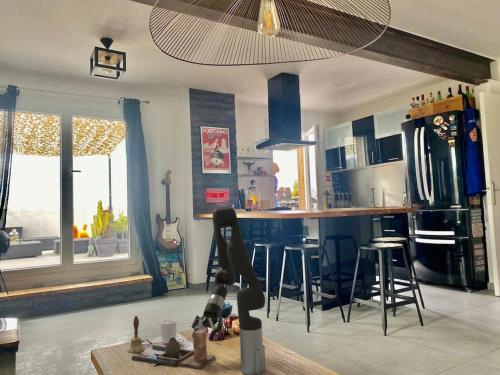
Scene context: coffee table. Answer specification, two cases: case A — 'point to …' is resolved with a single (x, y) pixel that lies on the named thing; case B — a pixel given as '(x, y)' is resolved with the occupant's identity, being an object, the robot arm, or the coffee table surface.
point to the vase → (173, 348)
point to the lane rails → (152, 360)
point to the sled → (193, 353)
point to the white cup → (168, 330)
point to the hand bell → (136, 339)
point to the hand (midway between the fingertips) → (201, 339)
